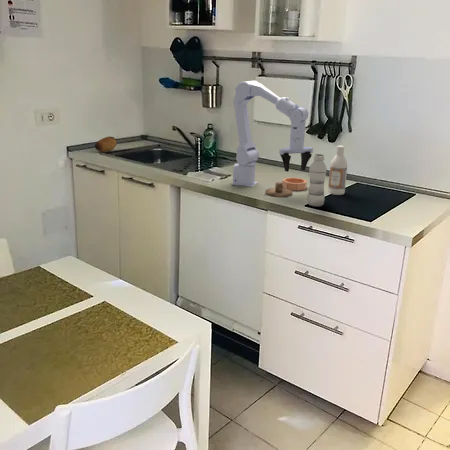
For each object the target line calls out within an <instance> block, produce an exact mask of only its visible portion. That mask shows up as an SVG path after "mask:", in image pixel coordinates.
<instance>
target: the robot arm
mask: <svg viewBox="0 0 450 450" xmlns="http://www.w3.org/2000/svg"><path fill="white" fill-rule="evenodd" d="M234 90H235V91H234V92H235V93H234V98H233V108H234V114H235V121H236V129H237V135H238V141H239V144H238V145H237V148H236V156H235V157H236V162H237V163H234V165H233V168H232V169H233V170H232V183H231V185H233V186H246V187H254V186H255V185H256V184H258V181H256V164H257V161H258V159H259V157H260V154H259V151H258V149H257V146H256V144H255V143H254V142H253V139H252V133H251V132H252V131H251V125H250V118H249V117H250V116H249V111H248V104H249V102H251V100H252V99H253V98H254V97H261V98H263V99H265V100H266V101H268V102H270V103H272V104H273V105H275V109H276V110H277V111H278V112H280V113H282V114H283V115H285V116H286V117H287V118H289V120H290V122H291V123H290V135H289V136H290V137H289V147H285V148H279V151H278V152H279V153H278V154H279V156H280V158H281V160H282V163H283V167H284V172H290V171H289V170H290V161H291V158H292V156H291V155H290V154H300V157H301V159H300V160H301V162H300V170H301V171H303V172H304V171H306V168H307V165H308V162H309V161H310V159H311V157H312V155H313V152H314V148H313V147H306V146H305V133H306V121H307V120H308V118H309V111H308V108H305V106H300V104H298V103H294V102H293V101H292V100H290V98H289V96H288V97H285V96H283V97H280V96H278V94H276V93H274V92H273V91H271V90H270V89H269V88H268V87H266V86H265V85H263V84H262V83H261V82H258V81H257V80H254V79H253V80H248V81H247V80H246V81H244V80H243V81H240V82H239V83H238V84H237V85H236V87H235V88H234Z"/></svg>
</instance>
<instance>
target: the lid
mask: <svg viewBox="0 0 450 450" xmlns="http://www.w3.org/2000/svg"><path fill="white" fill-rule="evenodd" d="M265 193H266V194H267V195H270V196H269V197H275V198H284V197H287V196H289V197H291V196H292V195H293V190H288V189H284V188H283V183H282V182H280V181H278V182H275V187H270V188H267V189H266V190H265V192H264V194H265ZM267 195H266V196H267Z"/></svg>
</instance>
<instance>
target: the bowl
mask: <svg viewBox="0 0 450 450" xmlns="http://www.w3.org/2000/svg"><path fill="white" fill-rule="evenodd" d="M281 183H283V188H284V189H288V190H291V191H293V192H294V191H296V192H297V191H304V190H306V189H307V186H308V180H306V179H304V178H302V177H301V178H300V177H285V178H283V179H282V182H281Z"/></svg>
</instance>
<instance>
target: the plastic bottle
mask: <svg viewBox="0 0 450 450" xmlns="http://www.w3.org/2000/svg"><path fill="white" fill-rule="evenodd" d="M324 161H325V154H322V153H318V154H317V153H316V154H315V153H314V155H313V162H312V163H311V164H310V166H309V170H308V171H309V186H308V187H309V189H308V194H307V198H306V201H307V204H308V205H309V206H312V207H322V206H323V205H324V204H325V200H326V199H325V182H326V181H325V180H326V176H327V171H328V169H327V164H325V162H324Z"/></svg>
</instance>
